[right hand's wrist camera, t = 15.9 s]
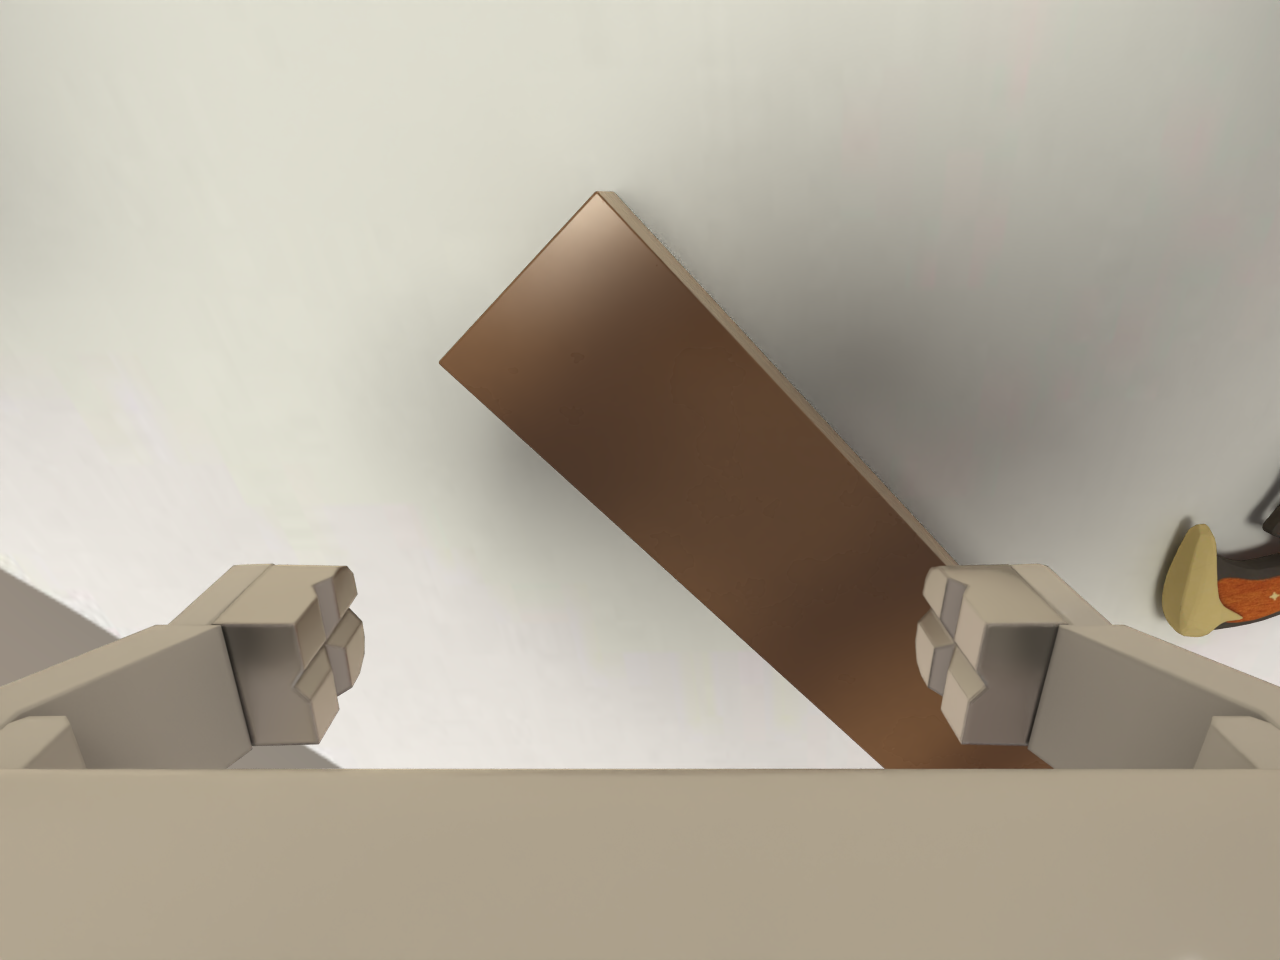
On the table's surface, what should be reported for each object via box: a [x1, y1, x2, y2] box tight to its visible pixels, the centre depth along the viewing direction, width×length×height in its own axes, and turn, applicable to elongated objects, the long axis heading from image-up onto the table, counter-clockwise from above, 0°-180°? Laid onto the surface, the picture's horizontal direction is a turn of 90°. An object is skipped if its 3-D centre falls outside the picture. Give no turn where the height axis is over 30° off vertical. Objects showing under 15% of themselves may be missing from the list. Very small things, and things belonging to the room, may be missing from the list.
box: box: [439, 191, 1054, 769], centre depth 27 cm, size 27×6×11 cm, turn 45°
